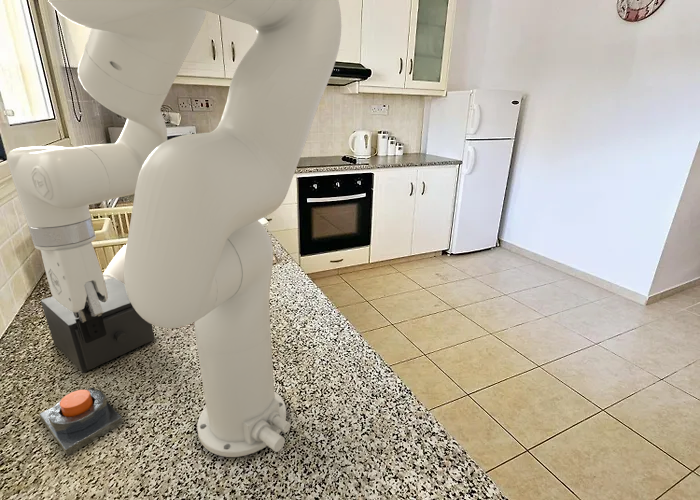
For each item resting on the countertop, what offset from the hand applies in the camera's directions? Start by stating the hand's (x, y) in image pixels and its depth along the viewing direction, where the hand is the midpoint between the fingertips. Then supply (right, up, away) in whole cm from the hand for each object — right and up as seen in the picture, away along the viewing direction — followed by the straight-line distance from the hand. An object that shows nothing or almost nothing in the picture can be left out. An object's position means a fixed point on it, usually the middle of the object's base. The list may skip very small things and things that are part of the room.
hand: (94, 337), depth 62 cm
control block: (+3, -11, -7) cm, 13 cm away
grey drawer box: (-5, -3, +11) cm, 13 cm away
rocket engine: (-15, +4, +29) cm, 33 cm away
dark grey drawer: (-4, -3, +9) cm, 11 cm away
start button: (+3, -8, -8) cm, 12 cm away
